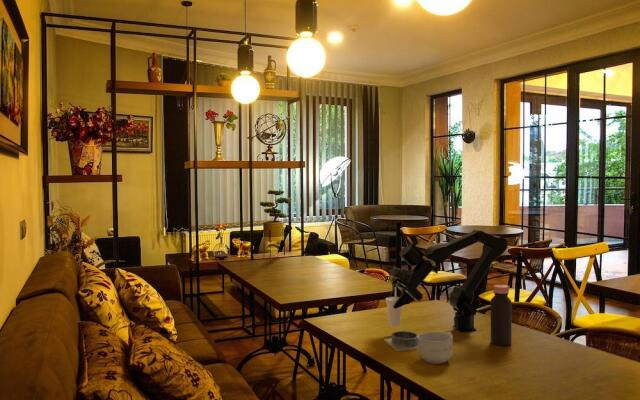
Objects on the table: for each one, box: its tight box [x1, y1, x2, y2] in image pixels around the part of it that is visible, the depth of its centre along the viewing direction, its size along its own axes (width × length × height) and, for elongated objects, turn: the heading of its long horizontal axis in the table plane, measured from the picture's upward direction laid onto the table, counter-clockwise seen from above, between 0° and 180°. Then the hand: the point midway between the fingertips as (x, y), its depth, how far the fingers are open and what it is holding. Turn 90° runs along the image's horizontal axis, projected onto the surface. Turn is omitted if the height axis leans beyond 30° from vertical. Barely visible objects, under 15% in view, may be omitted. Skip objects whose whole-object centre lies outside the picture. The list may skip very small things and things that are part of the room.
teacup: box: [417, 331, 454, 365], centre depth 158 cm, size 14×11×8 cm
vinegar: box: [490, 284, 513, 347], centre depth 172 cm, size 7×7×20 cm
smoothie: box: [385, 287, 403, 327], centre depth 183 cm, size 6×6×14 cm
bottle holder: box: [383, 330, 419, 352], centre depth 172 cm, size 11×11×3 cm
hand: (390, 305), depth 182 cm, fingers closed on smoothie, 6 cm apart
